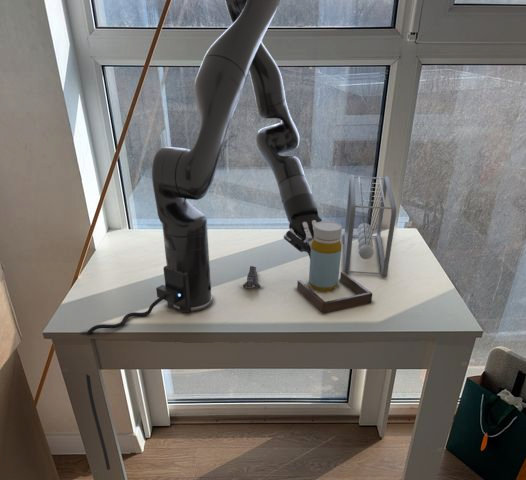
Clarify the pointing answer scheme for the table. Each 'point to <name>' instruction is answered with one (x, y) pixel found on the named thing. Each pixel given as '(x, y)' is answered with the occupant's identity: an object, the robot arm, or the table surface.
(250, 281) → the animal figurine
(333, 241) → the bottle
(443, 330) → the table surface
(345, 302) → the bay
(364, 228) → the newton's cradle
